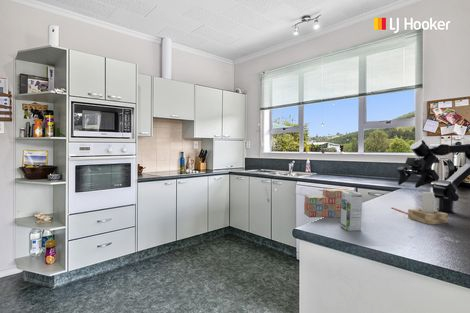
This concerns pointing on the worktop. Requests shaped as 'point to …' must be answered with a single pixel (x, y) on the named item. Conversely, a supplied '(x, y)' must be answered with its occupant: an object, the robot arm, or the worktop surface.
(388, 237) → the worktop surface
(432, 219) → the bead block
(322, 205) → the stack of blocks
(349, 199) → the syrup box
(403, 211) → the red square stick
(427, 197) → the white rectangular block
